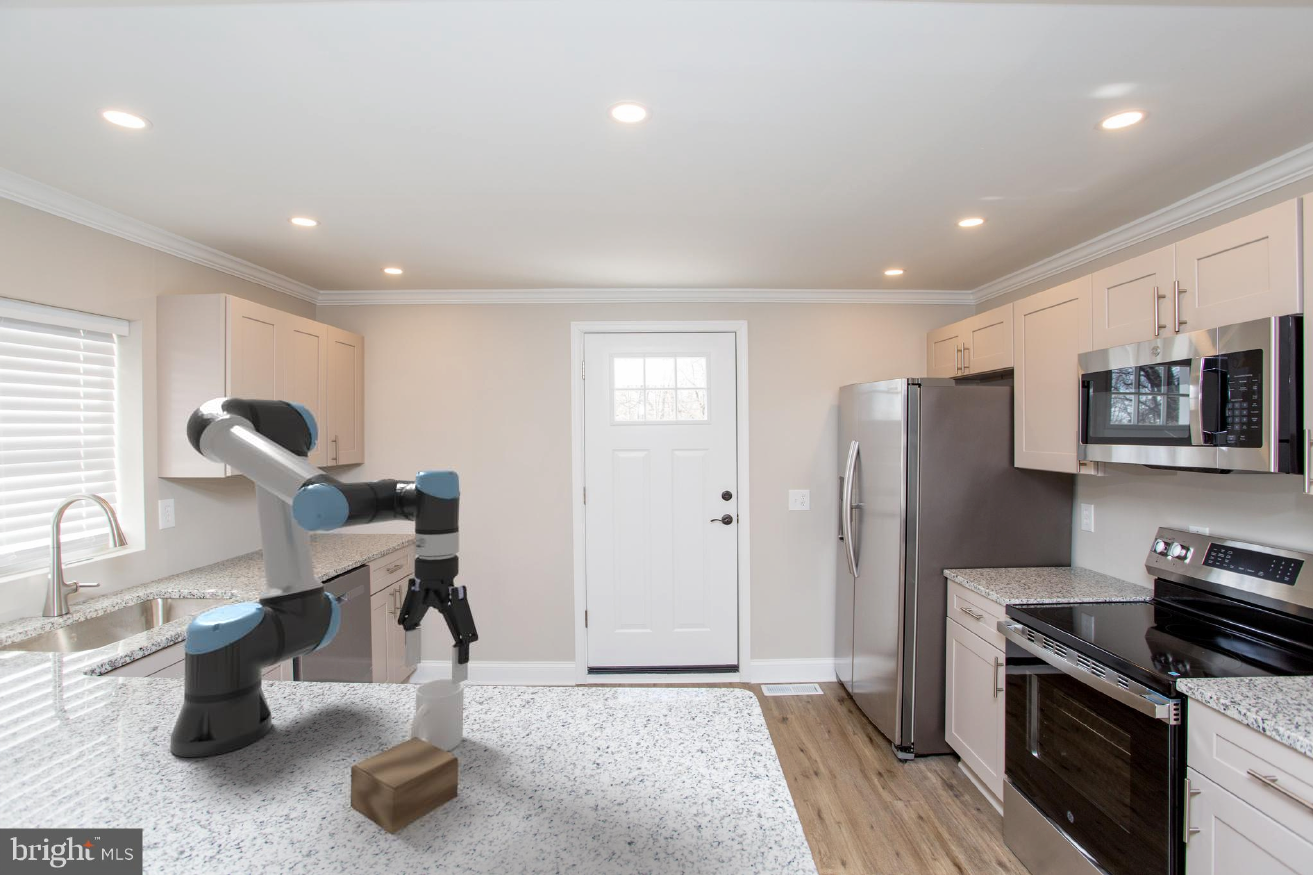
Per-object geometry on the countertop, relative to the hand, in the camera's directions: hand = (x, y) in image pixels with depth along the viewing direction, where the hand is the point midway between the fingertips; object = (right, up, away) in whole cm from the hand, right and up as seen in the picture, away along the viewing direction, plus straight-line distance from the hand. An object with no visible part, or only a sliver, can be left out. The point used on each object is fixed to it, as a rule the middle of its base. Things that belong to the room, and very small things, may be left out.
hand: (435, 672), depth 106 cm
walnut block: (+1, -14, -16) cm, 21 cm away
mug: (-1, -14, 0) cm, 14 cm away
